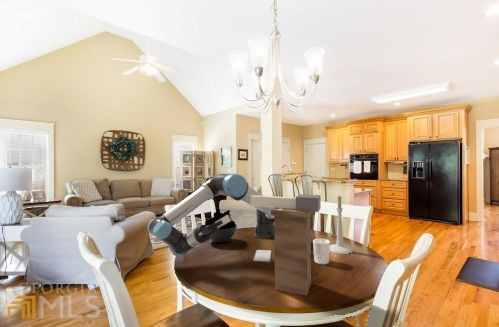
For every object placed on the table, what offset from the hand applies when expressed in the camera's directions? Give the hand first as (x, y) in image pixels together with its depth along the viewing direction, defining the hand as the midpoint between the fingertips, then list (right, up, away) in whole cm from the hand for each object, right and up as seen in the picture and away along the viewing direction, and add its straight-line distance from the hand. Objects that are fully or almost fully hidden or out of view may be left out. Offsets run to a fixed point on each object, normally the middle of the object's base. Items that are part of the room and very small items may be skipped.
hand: (236, 214), depth 103 cm
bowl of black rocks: (-12, -27, +48) cm, 56 cm away
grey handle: (+19, +4, -7) cm, 21 cm away
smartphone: (+12, -27, +23) cm, 37 cm away
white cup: (+41, -26, +15) cm, 51 cm away
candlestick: (+55, -26, +31) cm, 69 cm away
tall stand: (+23, -26, -9) cm, 35 cm away
